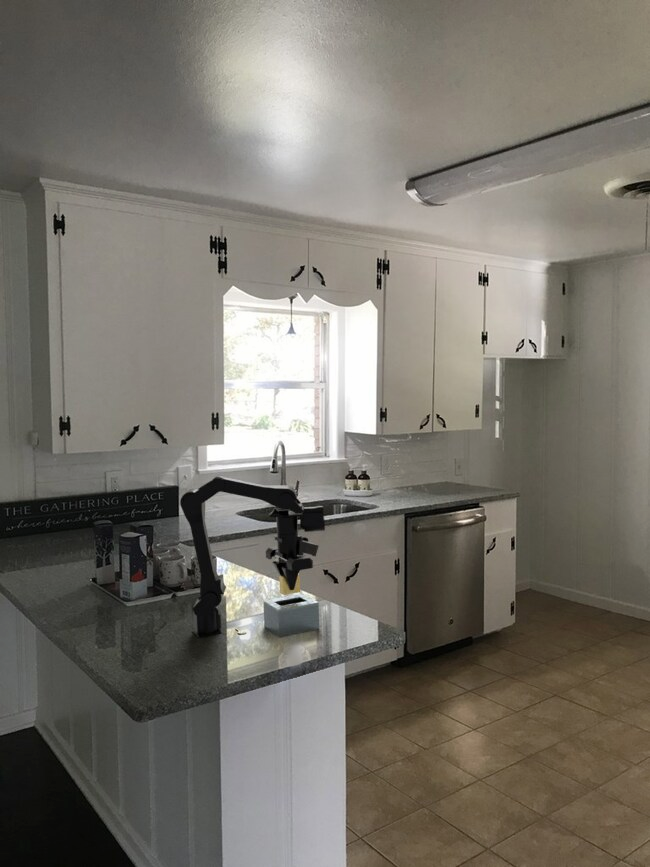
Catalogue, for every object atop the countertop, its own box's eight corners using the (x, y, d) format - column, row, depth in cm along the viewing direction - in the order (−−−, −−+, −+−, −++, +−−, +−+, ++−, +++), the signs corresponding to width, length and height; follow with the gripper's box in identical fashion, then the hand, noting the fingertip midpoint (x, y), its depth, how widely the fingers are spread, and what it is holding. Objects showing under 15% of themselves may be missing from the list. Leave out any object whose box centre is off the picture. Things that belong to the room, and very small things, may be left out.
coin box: (279, 637, 195) (278, 610, 195) (264, 626, 204) (263, 600, 203) (319, 628, 201) (318, 602, 200) (303, 618, 210) (302, 593, 209)
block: (283, 595, 199) (282, 577, 199) (279, 592, 201) (279, 574, 201) (300, 592, 201) (299, 574, 201) (296, 589, 203) (295, 572, 203)
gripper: (329, 534, 195) (331, 592, 196) (299, 523, 212) (301, 576, 213) (291, 540, 190) (294, 599, 191) (263, 528, 207) (266, 582, 208)
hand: (289, 588), depth 201 cm, fingers closed on block, 2 cm apart
